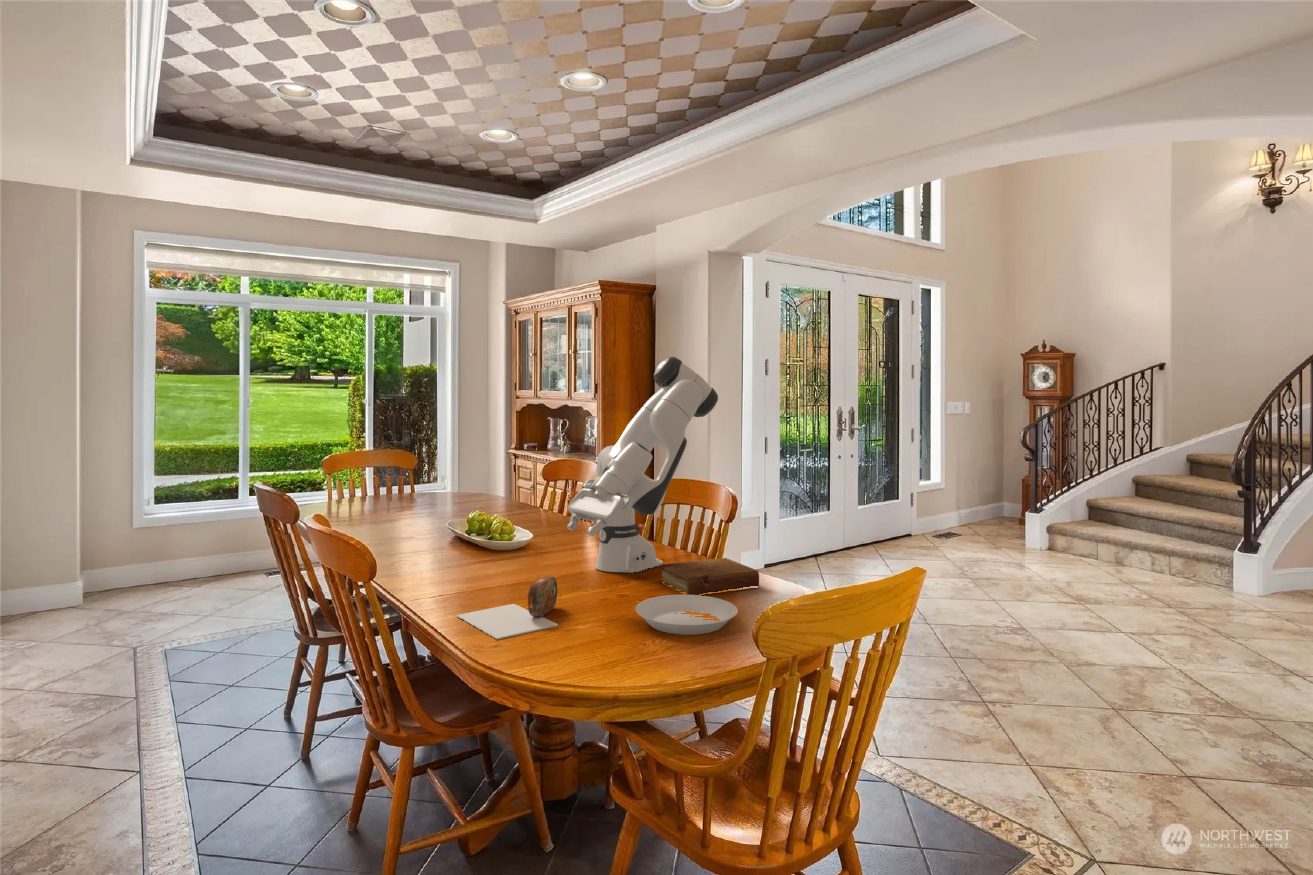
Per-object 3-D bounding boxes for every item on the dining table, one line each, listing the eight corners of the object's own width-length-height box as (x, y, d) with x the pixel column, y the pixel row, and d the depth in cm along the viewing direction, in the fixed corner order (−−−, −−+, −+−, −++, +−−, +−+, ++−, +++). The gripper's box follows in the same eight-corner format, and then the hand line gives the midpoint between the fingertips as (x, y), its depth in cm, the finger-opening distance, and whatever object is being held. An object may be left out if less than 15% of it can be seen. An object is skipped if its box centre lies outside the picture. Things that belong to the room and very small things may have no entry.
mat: (514, 605, 189) (514, 603, 189) (558, 625, 172) (558, 624, 172) (456, 616, 179) (456, 615, 179) (496, 639, 162) (496, 638, 162)
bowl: (620, 614, 182) (620, 600, 182) (708, 604, 192) (708, 590, 192) (659, 646, 159) (659, 630, 159) (757, 632, 169) (757, 617, 169)
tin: (537, 620, 174) (538, 586, 174) (524, 619, 175) (526, 585, 175) (557, 605, 189) (559, 573, 189) (546, 604, 190) (547, 572, 189)
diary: (688, 600, 197) (688, 579, 197) (658, 584, 214) (658, 565, 213) (759, 590, 207) (759, 570, 206) (725, 575, 224) (725, 557, 223)
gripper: (640, 503, 187) (609, 545, 181) (595, 494, 203) (566, 533, 197) (626, 487, 184) (594, 530, 178) (582, 480, 200) (552, 518, 194)
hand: (579, 531), depth 188 cm, fingers open, 8 cm apart
